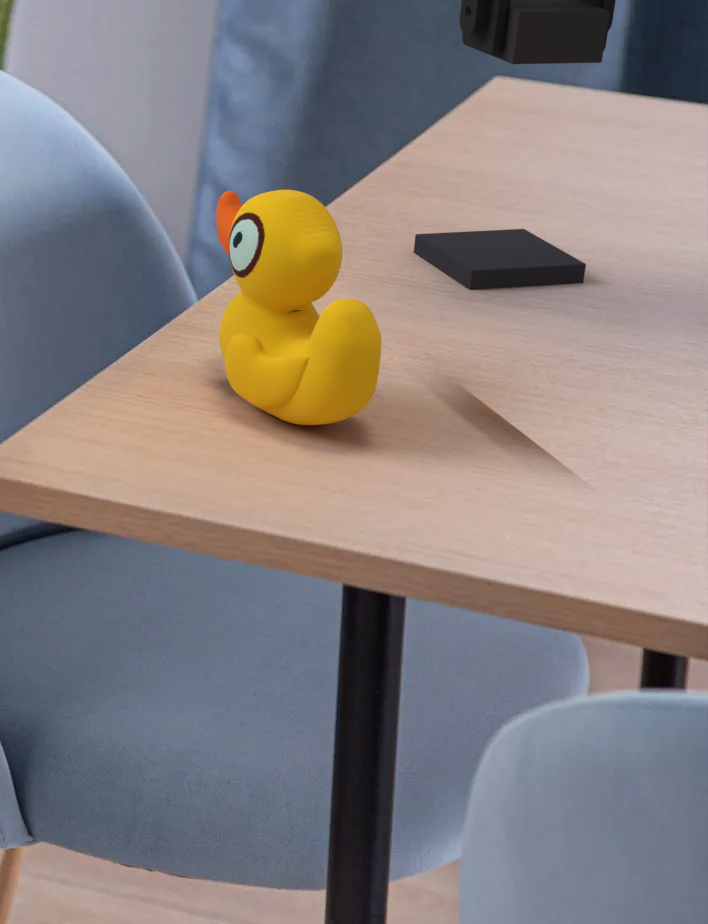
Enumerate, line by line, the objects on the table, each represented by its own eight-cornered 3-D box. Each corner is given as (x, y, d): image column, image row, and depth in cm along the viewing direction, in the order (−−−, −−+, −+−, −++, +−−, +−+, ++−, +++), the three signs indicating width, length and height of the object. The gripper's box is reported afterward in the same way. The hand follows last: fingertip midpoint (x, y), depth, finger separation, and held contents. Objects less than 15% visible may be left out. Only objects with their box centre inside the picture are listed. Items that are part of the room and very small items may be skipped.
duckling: (165, 378, 84) (175, 171, 80) (257, 362, 87) (272, 161, 83) (305, 464, 76) (325, 237, 71) (403, 443, 78) (428, 223, 74)
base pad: (518, 269, 103) (524, 228, 102) (579, 307, 97) (586, 263, 96) (410, 276, 101) (415, 233, 100) (466, 314, 95) (472, 270, 94)
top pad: (549, 43, 91) (556, -7, 90) (601, 62, 87) (610, 10, 86) (463, 44, 89) (469, -7, 88) (512, 64, 85) (519, 11, 84)
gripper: (460, -373, 74) (413, 67, 82) (795, -349, 80) (721, 61, 87) (382, -372, 80) (345, 36, 88) (698, -349, 86) (636, 33, 94)
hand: (533, 44), depth 88 cm, fingers closed on top pad, 5 cm apart
